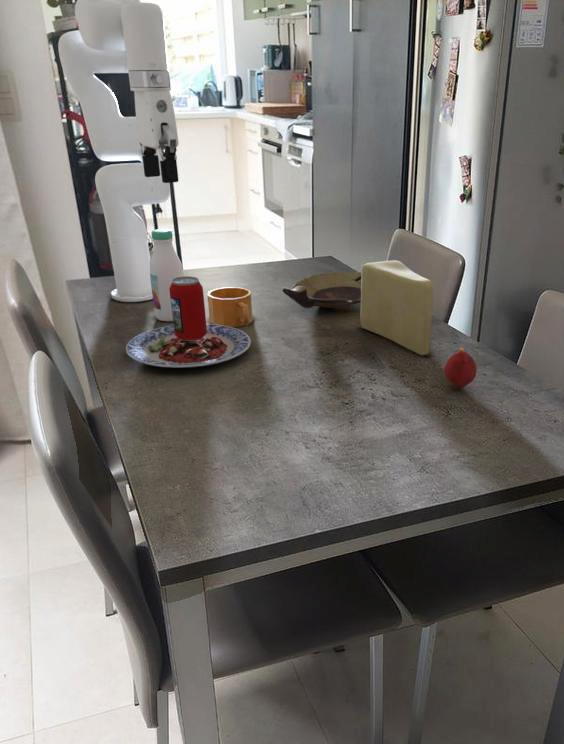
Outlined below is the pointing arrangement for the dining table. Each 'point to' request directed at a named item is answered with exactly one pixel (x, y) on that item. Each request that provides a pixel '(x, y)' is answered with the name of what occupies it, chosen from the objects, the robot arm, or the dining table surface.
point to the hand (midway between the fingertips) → (161, 179)
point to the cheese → (397, 304)
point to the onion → (460, 369)
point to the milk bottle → (163, 272)
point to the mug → (230, 306)
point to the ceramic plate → (188, 347)
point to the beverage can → (188, 308)
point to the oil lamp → (327, 290)
